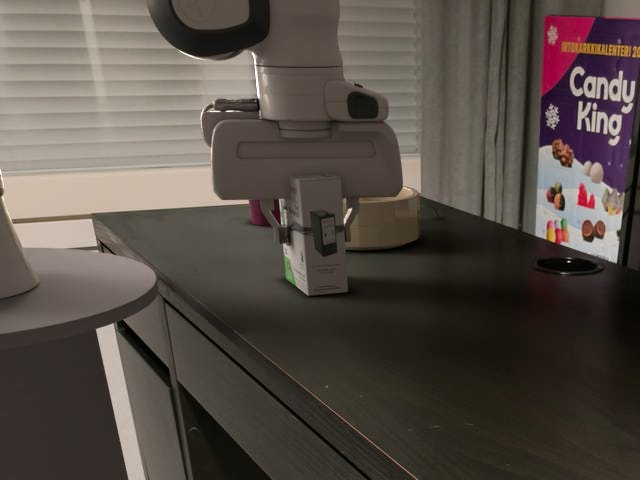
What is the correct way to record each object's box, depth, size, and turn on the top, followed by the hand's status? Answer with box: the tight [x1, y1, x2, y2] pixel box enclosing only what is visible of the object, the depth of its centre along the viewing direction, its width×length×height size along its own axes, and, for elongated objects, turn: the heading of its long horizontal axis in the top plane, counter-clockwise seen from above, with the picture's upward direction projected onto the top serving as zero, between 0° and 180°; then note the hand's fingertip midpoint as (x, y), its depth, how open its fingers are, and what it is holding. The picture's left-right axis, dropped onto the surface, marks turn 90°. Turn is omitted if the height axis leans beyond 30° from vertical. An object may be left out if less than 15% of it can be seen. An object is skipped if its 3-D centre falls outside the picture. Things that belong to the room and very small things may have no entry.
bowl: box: [342, 185, 421, 251], centre depth 124 cm, size 16×16×6 cm
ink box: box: [279, 174, 349, 297], centre depth 101 cm, size 9×5×12 cm, turn 27°
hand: (313, 242), depth 102 cm, fingers closed on ink box, 5 cm apart
